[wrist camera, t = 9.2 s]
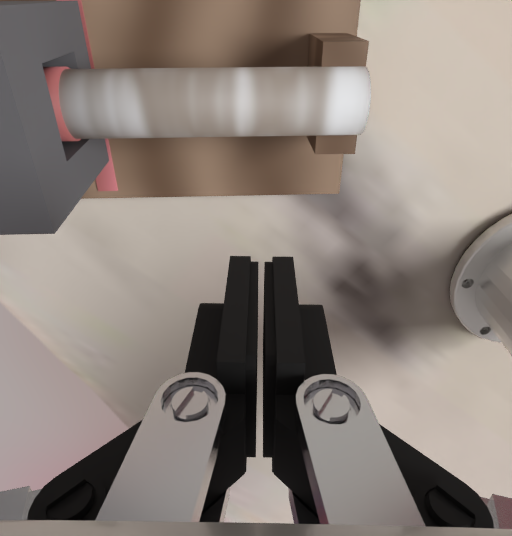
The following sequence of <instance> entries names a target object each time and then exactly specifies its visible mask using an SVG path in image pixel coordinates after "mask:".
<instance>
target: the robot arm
mask: <svg viewBox="0 0 512 536" xmlns="http://www.w3.org/2000/svg"><path fill="white" fill-rule="evenodd" d="M450 300H451V305H452V308H453V310H454V312H455V314H456V316H457V317H458V319H459V320H460V322H461V323H462V325H463V326H464V327H465V328H467V329H468V330H469V331H470V332H471V333H473V334H474V335H476V336H478V337H480V338H483V339H486V340H490V341H494V342H502V344H503V345H504V346H505V348H506V349H507V350H508V352H509V353H510V354H511V356H512V214H510V215H508V216H506V217H504V218H503V219H501V220H500V221H498V222H497V223H495V224H494V225H492V226H491V227H489V228H488V229H487V230H486V231H485V232H484V233H482V234H481V235H480V236H479V237H478V238H477V239H476V240H475V241H474V242H473V243H472V244H471V246H470V247H469V248H468V249H467V250H466V252H465V253H464V254H463V256H462V257H461V259H460V261H459V263H458V264H457V266H456V268H455V271H454V274H453V277H452V279H451V285H450ZM257 341H258V262H251V257H250V256H230V262H229V270H228V277H227V285H226V292H225V300H224V304H216V303H201V304H200V305H199V309H198V314H197V318H196V323H195V328H194V332H193V337H192V342H191V346H190V351H189V356H188V360H187V365H186V370H185V373H183V374H179V375H176V376H174V377H172V378H170V379H168V380H167V381H166V382H165V383H163V384H162V385H161V386H160V387H159V389H158V390H157V392H156V393H155V395H154V397H153V399H152V401H151V404H150V406H149V408H148V410H147V412H146V414H145V416H144V418H143V420H142V421H140V422H139V423H137V424H136V425H134V426H133V427H131V428H130V429H128V430H127V431H125V432H123V433H122V434H120V435H119V436H117V437H116V438H114V439H113V440H111V441H110V442H108V443H107V444H105V445H104V446H102V447H101V448H99V449H98V450H96V451H94V452H93V453H91V454H90V455H88V456H87V457H85V458H84V459H82V460H81V461H79V462H78V463H76V464H75V465H73V466H72V467H70V468H69V469H67V470H66V471H64V472H62V473H61V474H59V475H58V476H57V477H55V478H54V479H53V480H51V481H50V482H49V483H48V484H47V485H45V486H44V487H43V488H42V489H40V490H35V491H31V489H30V486H27V487H22V488H17V489H12V490H7V491H2V492H0V536H512V498H508V497H503V496H499V495H495V494H492V496H491V498H490V499H487V498H483V497H480V496H479V495H478V494H477V493H476V492H475V491H474V490H472V489H471V488H470V487H469V486H468V485H467V484H465V483H464V482H462V481H461V480H459V479H458V478H457V477H455V476H454V475H452V474H451V473H449V472H448V471H446V470H445V469H444V468H442V467H441V466H439V465H438V464H436V463H435V462H433V461H432V460H430V459H429V458H428V457H426V456H425V455H423V454H422V453H420V452H419V451H417V450H416V449H415V448H413V447H412V446H410V445H409V444H407V443H406V442H404V441H403V440H402V439H400V438H399V437H397V436H396V435H394V434H393V433H391V432H390V431H389V430H387V429H386V428H384V427H383V426H381V425H380V424H379V423H378V421H377V419H376V416H375V414H374V412H373V410H372V408H371V405H370V403H369V401H368V399H367V397H366V395H365V394H364V392H363V391H362V389H361V388H360V387H359V386H357V385H356V384H355V383H354V382H352V381H350V380H348V379H346V378H345V377H342V376H338V375H337V374H336V369H335V364H334V359H333V354H332V349H331V344H330V339H329V334H328V329H327V324H326V319H325V314H324V309H323V306H322V305H299V303H298V295H297V286H296V278H295V270H294V261H293V257H273V259H272V262H265V273H264V325H263V457H272V472H274V475H276V476H277V477H278V478H279V479H280V480H281V481H282V482H283V483H284V484H285V485H286V486H287V487H288V490H289V501H290V506H291V511H292V515H293V520H294V524H280V523H224V518H225V514H226V509H227V505H228V500H229V493H230V486H231V485H232V484H234V483H235V482H236V481H237V480H238V479H239V478H240V477H241V476H243V475H244V474H245V472H246V460H247V457H256V403H257Z"/></svg>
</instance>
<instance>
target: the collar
mask: <svg viewBox="0 0 512 536" xmlns="http://www.w3.org/2000/svg"><path fill="white" fill-rule="evenodd" d="M43 67H69V68H70V69H91V66H90V61H89V56H88V51H87V46H86V41H85V35H84V30H83V25H82V20H81V15H80V10H79V5H78V1H0V235H9V234H55V232H56V231H57V230H58V228H59V227H60V226H61V224H62V223H63V222H64V220H65V219H66V218H67V216H68V215H69V214H70V212H71V211H72V210H73V208H74V207H75V206H76V204H77V203H78V202H79V200H80V199H81V198H82V196H83V195H84V194H85V192H86V191H87V190H88V188H89V187H90V186H91V184H92V183H93V182H94V180H95V179H96V178H97V176H98V175H99V174H100V172H101V171H102V170H103V168H104V167H105V166H106V164H107V163H108V162H109V157H108V152H107V147H106V142H105V139H81V140H80V141H61V137H60V133H59V129H58V125H57V121H56V117H55V113H54V109H53V105H52V101H51V97H50V93H49V89H48V85H47V82H46V78H45V74H44V70H43Z"/></svg>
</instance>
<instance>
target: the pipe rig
mask: <svg viewBox="0 0 512 536" xmlns="http://www.w3.org/2000/svg"><path fill="white" fill-rule="evenodd" d="M0 1H78V5H79V10H80V15H81V20H82V25H83V30H84V35H85V41H86V46H87V51H88V56H89V61H90V66H91V69H70V68H69V67H43V70H44V74H45V78H46V82H47V85H48V89H49V93H50V97H51V101H52V105H53V109H54V113H55V117H56V121H57V125H58V129H59V133H60V137H61V141H80V140H81V139H105V142H106V147H107V152H108V157H109V162H108V163H107V164H106V166H105V167H104V168H103V170H102V171H101V172H100V174H99V175H98V176H97V178H96V179H95V180H94V182H93V183H92V184H91V186H90V187H89V188H88V190H87V191H86V192H85V194H84V195H83V196H82V198H131V197H184V196H237V195H290V194H339V190H340V181H341V172H342V163H343V154H355V147H356V139H357V135H361V134H362V133H363V131H364V129H365V127H366V124H367V120H368V116H369V110H370V101H371V81H370V75H369V71H368V69H367V67H366V60H367V52H368V44H369V41H367V40H364V39H361V38H359V37H356V36H357V27H358V18H359V9H360V0H0Z"/></svg>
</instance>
